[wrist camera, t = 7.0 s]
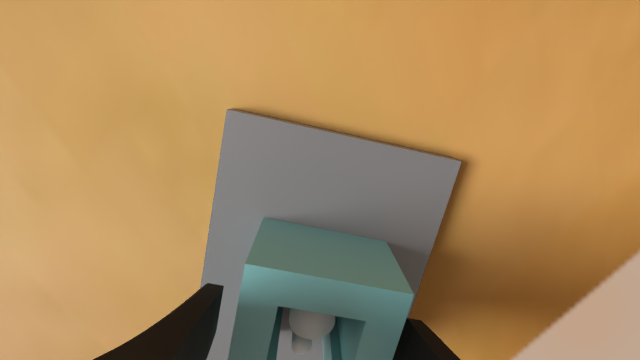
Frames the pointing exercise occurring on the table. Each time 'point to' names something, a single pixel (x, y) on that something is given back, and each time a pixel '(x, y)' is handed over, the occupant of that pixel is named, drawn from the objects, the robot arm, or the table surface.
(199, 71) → the table surface
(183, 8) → the table surface
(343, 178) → the post board
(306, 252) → the teal slotted block
